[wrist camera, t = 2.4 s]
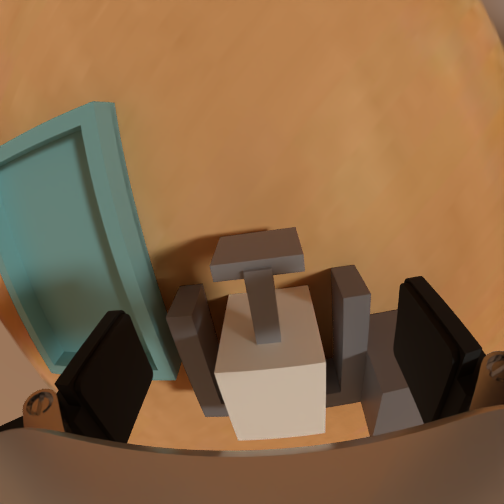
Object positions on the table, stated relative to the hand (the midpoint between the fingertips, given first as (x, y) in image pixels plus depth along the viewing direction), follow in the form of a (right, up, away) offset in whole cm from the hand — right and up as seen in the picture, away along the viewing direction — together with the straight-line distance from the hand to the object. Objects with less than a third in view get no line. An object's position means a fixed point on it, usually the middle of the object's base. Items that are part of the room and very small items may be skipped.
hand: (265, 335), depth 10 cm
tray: (-13, +2, +9) cm, 16 cm away
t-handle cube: (+1, 0, +10) cm, 10 cm away
